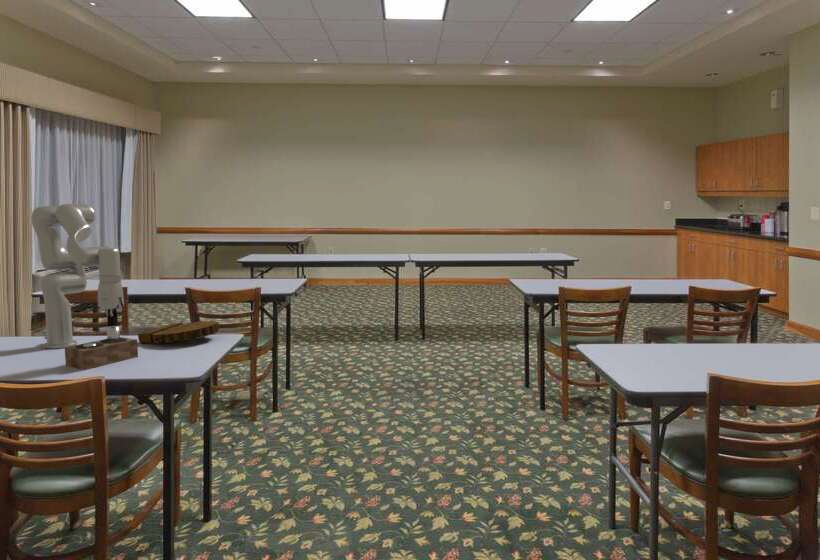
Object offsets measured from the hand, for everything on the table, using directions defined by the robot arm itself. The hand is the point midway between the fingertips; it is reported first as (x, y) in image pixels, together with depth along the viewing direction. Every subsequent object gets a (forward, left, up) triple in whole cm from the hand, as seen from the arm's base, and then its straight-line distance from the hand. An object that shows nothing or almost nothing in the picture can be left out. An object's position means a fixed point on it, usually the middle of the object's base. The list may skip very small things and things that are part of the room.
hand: (112, 325), depth 230 cm
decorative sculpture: (-3, +37, -14) cm, 39 cm away
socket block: (0, -5, -13) cm, 14 cm away
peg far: (0, 0, -8) cm, 8 cm away
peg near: (0, -10, -13) cm, 16 cm away
